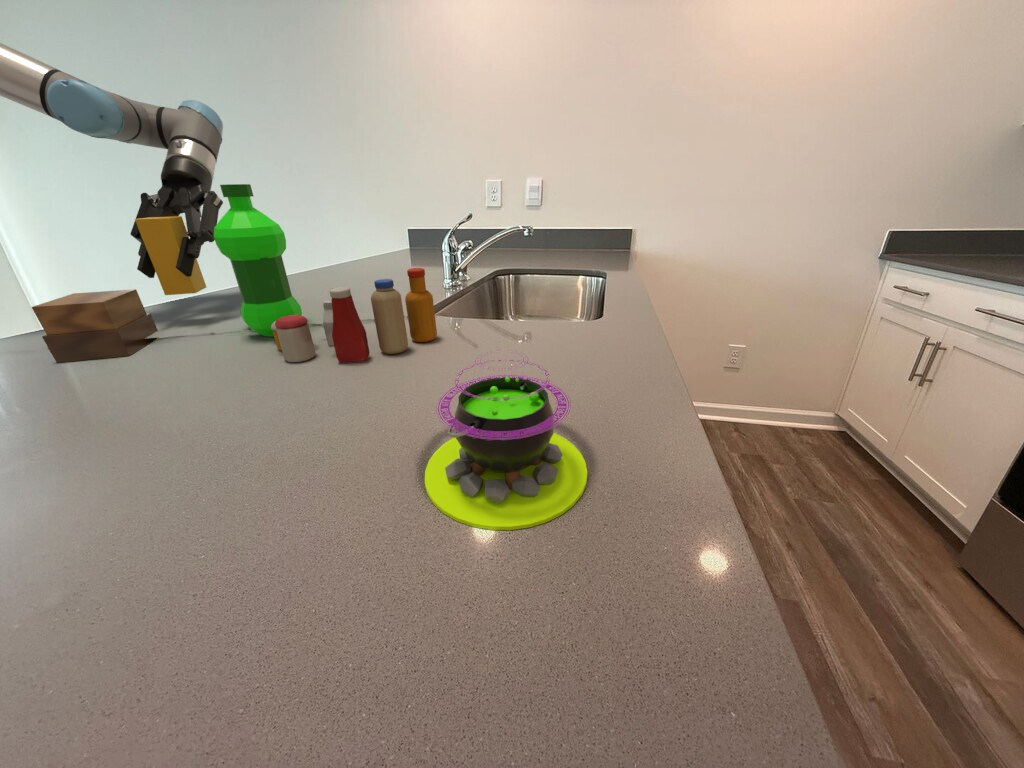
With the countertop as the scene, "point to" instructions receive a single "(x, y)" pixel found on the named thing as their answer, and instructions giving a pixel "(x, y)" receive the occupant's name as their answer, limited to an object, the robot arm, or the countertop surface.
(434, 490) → the toy cauldron
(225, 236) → the plastic bottle
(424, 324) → the toy food
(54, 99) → the robot arm
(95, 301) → the stacked wooden blocks
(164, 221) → the bar
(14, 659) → the countertop surface
